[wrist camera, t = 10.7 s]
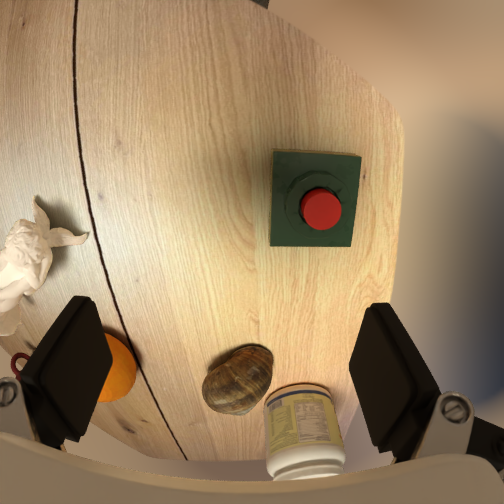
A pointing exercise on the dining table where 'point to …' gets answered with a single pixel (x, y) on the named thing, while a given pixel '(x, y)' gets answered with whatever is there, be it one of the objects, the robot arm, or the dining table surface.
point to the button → (321, 209)
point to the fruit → (118, 372)
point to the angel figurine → (27, 263)
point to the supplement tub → (302, 434)
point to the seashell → (239, 381)
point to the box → (299, 184)
